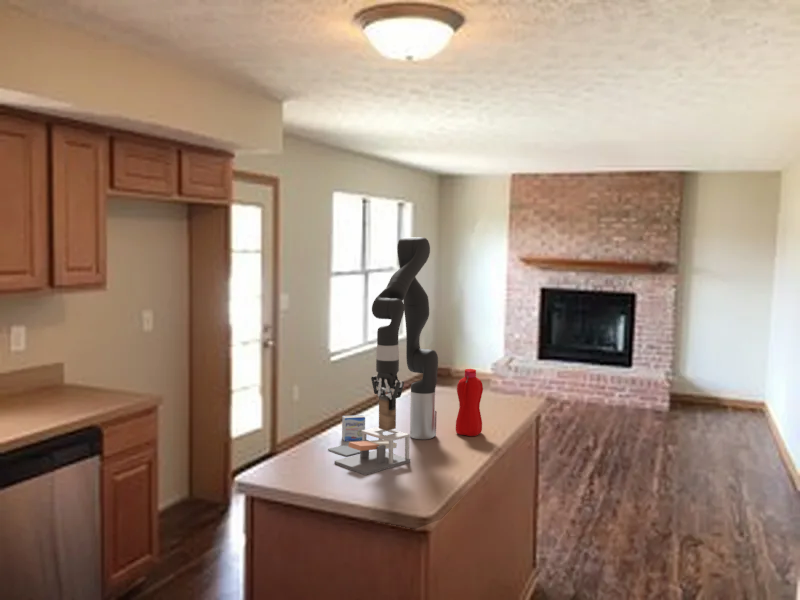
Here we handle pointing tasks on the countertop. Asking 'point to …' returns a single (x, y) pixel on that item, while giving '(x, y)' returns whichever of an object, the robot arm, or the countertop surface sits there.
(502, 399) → the countertop surface
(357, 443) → the rocker
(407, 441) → the white square frame
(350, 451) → the mat
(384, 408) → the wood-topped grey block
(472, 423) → the water bottle
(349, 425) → the medicine box
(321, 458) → the countertop surface
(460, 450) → the countertop surface
